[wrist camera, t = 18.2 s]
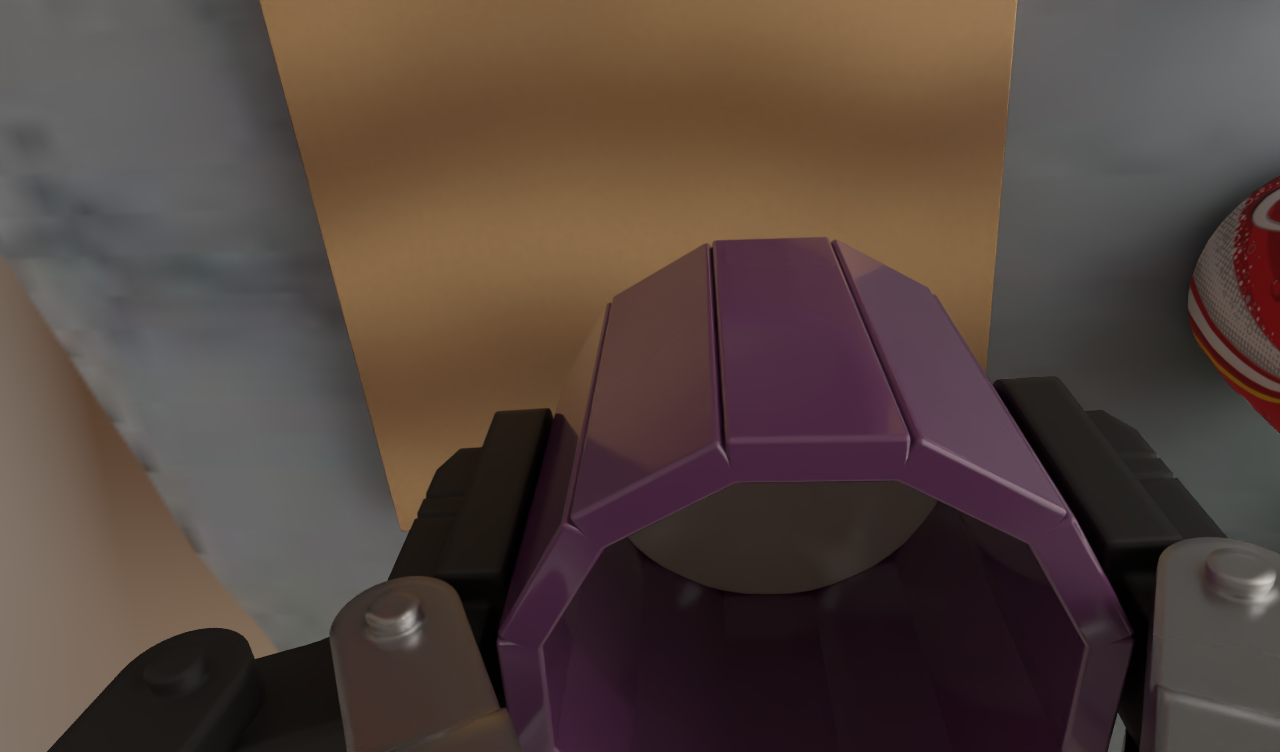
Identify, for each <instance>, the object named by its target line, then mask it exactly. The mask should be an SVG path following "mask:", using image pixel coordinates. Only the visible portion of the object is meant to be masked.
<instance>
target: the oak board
mask: <svg viewBox="0 0 1280 752" xmlns="http://www.w3.org/2000/svg"><path fill="white" fill-rule="evenodd" d="M259 1H260V5H261V9H262V12H263V16H264V20H265V24H266V27H267V31H268V35H269V39H270V42H271V46H272V50H273V54H274V57H275V61H276V65H277V69H278V72H279V76H280V80H281V83H282V87H283V91H284V95H285V98H286V102H287V106H288V110H289V113H290V117H291V121H292V125H293V128H294V132H295V136H296V140H297V143H298V147H299V151H300V155H301V158H302V162H303V166H304V170H305V173H306V177H307V181H308V185H309V188H310V192H311V196H312V200H313V203H314V207H315V211H316V215H317V218H318V222H319V226H320V230H321V233H322V237H323V241H324V245H325V248H326V252H327V256H328V260H329V263H330V267H331V271H332V275H333V278H334V282H335V286H336V290H337V293H338V297H339V301H340V304H341V308H342V312H343V316H344V319H345V323H346V327H347V331H348V334H349V338H350V342H351V346H352V349H353V353H354V357H355V361H356V364H357V368H358V372H359V376H360V379H361V383H362V387H363V391H364V394H365V398H366V402H367V406H368V409H369V413H370V417H371V421H372V424H373V428H374V432H375V436H376V439H377V443H378V447H379V451H380V454H381V458H382V462H383V466H384V469H385V473H386V477H387V481H388V484H389V488H390V492H391V496H392V499H393V503H394V507H395V511H396V514H397V518H398V522H399V525H400V529H401V531H410V529H411V526H412V524H413V522H414V519H417V513H418V510H419V508H420V506H421V504H422V501H423V499H426V492H427V490H428V488H429V486H430V483H431V481H432V479H433V476H434V474H435V472H436V470H437V469H438V468H439V467H440V466H441V465H443V464H444V463H445V462H446V461H447V460H448V459H449V458H450V457H451V456H452V455H454V454H455V453H456V452H457V451H458V450H459V449H460V448H476V447H482V446H483V443H484V440H485V438H486V435H487V432H488V430H489V427H490V424H491V422H492V419H493V417H494V414H495V413H496V412H497V411H507V410H522V409H537V408H550V410H551V412H552V414H553V417H554V416H555V412H556V408H557V404H558V401H559V397H560V393H561V389H562V386H563V384H564V382H565V380H566V378H567V376H568V374H569V373H570V371H571V369H572V367H573V365H574V363H575V361H576V360H577V358H578V356H579V354H580V352H581V350H582V349H583V347H584V345H585V343H586V341H587V339H588V337H589V336H590V334H591V332H592V330H593V328H594V326H595V325H596V323H597V321H598V319H599V317H600V315H601V313H602V312H603V310H604V308H605V306H606V304H608V303H609V302H610V303H612V299H613V297H614V296H616V295H618V294H619V293H621V292H623V291H624V290H626V289H628V288H629V287H631V286H633V285H635V284H636V283H638V282H640V281H641V280H643V279H645V278H647V277H648V276H650V275H652V274H653V273H655V272H657V271H658V270H660V269H662V268H664V267H665V266H667V265H669V264H670V263H672V262H674V261H676V260H677V259H679V258H681V257H682V256H684V255H686V254H687V253H689V252H691V251H693V250H694V249H696V248H698V247H699V246H701V245H703V244H706V243H708V244H709V245H710V246H711V247H712V243H713V241H716V240H743V239H776V238H808V237H827V238H829V240H830V243H831V241H833V240H834V239H835V240H839V241H841V242H843V243H845V244H847V245H848V246H850V247H852V248H854V249H856V250H858V251H860V252H862V253H864V254H865V255H867V256H869V257H871V258H873V259H875V260H877V261H879V262H881V263H882V264H884V265H886V266H888V267H890V268H892V269H894V270H896V271H897V272H899V273H901V274H903V275H905V276H907V277H909V278H911V279H913V280H914V281H916V282H918V283H920V284H922V285H924V286H926V287H928V288H929V289H930V291H931V292H932V294H935V295H936V296H937V297H938V299H939V300H940V302H941V304H942V305H943V307H944V308H945V310H946V312H947V313H948V315H949V316H950V318H951V320H952V321H953V323H954V324H955V326H956V328H957V329H958V331H959V332H960V334H961V336H962V337H963V339H964V340H965V342H966V344H967V345H968V347H969V348H970V350H971V351H972V353H973V355H974V356H975V358H976V359H977V361H978V363H979V364H980V366H981V367H982V369H983V371H984V372H985V374H986V366H987V354H988V342H989V331H990V319H991V307H992V295H993V283H994V271H995V260H996V248H997V236H998V224H999V212H1000V200H1001V189H1002V177H1003V165H1004V153H1005V141H1006V129H1007V118H1008V106H1009V94H1010V82H1011V70H1012V59H1013V47H1014V35H1015V23H1016V11H1017V0H259Z"/></svg>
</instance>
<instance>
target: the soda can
mask: <svg viewBox="0 0 1280 752" xmlns="http://www.w3.org/2000/svg"><path fill="white" fill-rule="evenodd" d="M1188 314H1189V320H1190V325H1191V329H1192V331H1193V334H1194V336H1195V339H1196V341H1197V343H1198V345H1199V346H1200V348H1201V349H1202V351H1203V352H1204V353H1205V355H1206V356H1207V357H1208V359H1209V360H1210V361H1211V362H1212V364H1213V365H1214V366H1215V367H1216V369H1217V370H1218V371H1219V373H1220V374H1221V375H1222V376H1223V378H1224V379H1225V380H1226V381H1227V383H1228V384H1229V385H1230V386H1231V387H1232V388H1233V389H1234V390H1235V391H1236V392H1237V393H1238V394H1239V395H1240V396H1241V397H1242V398H1243V399H1244V400H1246V401H1247V402H1248V403H1249V404H1250V405H1251V406H1252V407H1253V408H1254V409H1255V410H1256V411H1257V412H1258V413H1259V414H1260V415H1261V416H1262V417H1263V418H1264V419H1265V420H1266V421H1267V422H1268V423H1270V424H1271V425H1272V426H1273V427H1274V428H1275V429H1276V430H1277V431H1278V432H1279V433H1280V176H1279V177H1277V178H1275V179H1273V180H1272V181H1270V182H1269V183H1267V184H1265V185H1264V186H1262V187H1261V188H1259V189H1258V190H1256V191H1255V192H1253V193H1252V194H1251V195H1250V196H1249V197H1247V198H1246V199H1245V200H1244V201H1243V202H1241V203H1240V204H1239V205H1238V206H1237V207H1236V208H1235V209H1234V210H1233V211H1232V212H1231V213H1230V214H1229V215H1228V216H1227V217H1226V218H1225V219H1224V220H1223V221H1222V222H1221V224H1220V225H1219V226H1218V228H1217V229H1216V231H1215V232H1214V233H1213V235H1212V236H1211V237H1210V239H1209V240H1208V242H1207V244H1206V245H1205V247H1204V249H1203V251H1202V253H1201V255H1200V256H1199V258H1198V261H1197V264H1196V266H1195V269H1194V272H1193V275H1192V278H1191V283H1190V288H1189V293H1188Z"/></svg>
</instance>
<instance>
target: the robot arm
mask: <svg viewBox="0 0 1280 752" xmlns="http://www.w3.org/2000/svg"><path fill="white" fill-rule="evenodd" d="M993 387H994V388H995V390H996V391H997V393H998V395H999V396H1000V398H1001V399H1002V401H1003V403H1004V404H1005V406H1006V407H1007V409H1008V411H1009V412H1010V414H1011V415H1012V417H1013V419H1014V420H1015V422H1016V423H1017V425H1018V426H1019V428H1020V430H1021V431H1022V433H1023V434H1024V436H1025V438H1026V439H1027V441H1028V442H1029V444H1030V446H1031V447H1032V449H1033V450H1034V452H1035V454H1036V455H1037V457H1038V458H1039V460H1040V462H1041V463H1042V465H1043V466H1044V468H1045V470H1046V471H1047V473H1048V474H1049V476H1050V478H1051V479H1052V481H1053V482H1054V484H1055V486H1056V487H1057V489H1058V490H1059V492H1060V494H1061V495H1062V497H1063V498H1064V500H1065V502H1066V503H1067V505H1068V506H1069V508H1070V509H1071V511H1072V513H1073V514H1074V516H1075V517H1076V519H1077V521H1078V523H1079V525H1080V527H1081V529H1082V531H1083V533H1084V534H1085V536H1086V538H1087V540H1088V542H1089V544H1090V546H1091V548H1092V550H1093V552H1094V553H1095V555H1096V557H1097V559H1098V561H1099V563H1100V565H1101V567H1102V569H1103V571H1104V573H1105V574H1106V576H1107V578H1108V580H1109V582H1110V584H1111V586H1112V588H1113V590H1114V592H1115V593H1116V595H1117V597H1118V599H1119V601H1120V603H1121V605H1122V607H1123V609H1124V611H1125V612H1126V614H1127V616H1128V618H1129V620H1130V622H1131V624H1132V626H1133V628H1134V634H1133V637H1134V639H1135V647H1134V650H1133V654H1132V658H1131V662H1130V666H1129V670H1128V674H1127V678H1126V682H1125V685H1124V689H1123V693H1122V697H1121V701H1120V705H1119V709H1118V713H1119V715H1120V717H1121V719H1122V721H1123V723H1124V725H1125V726H1126V730H1125V735H1124V740H1123V746H1122V751H1121V752H1280V554H1278V553H1276V552H1274V551H1271V550H1269V549H1266V548H1264V547H1261V546H1258V545H1255V544H1252V543H1248V542H1244V541H1239V540H1235V539H1228V538H1227V537H1226V535H1225V534H1224V533H1223V532H1222V531H1221V530H1220V528H1219V527H1218V526H1217V525H1216V524H1215V522H1214V521H1213V520H1212V519H1211V518H1210V517H1209V515H1208V514H1207V513H1206V512H1205V511H1204V509H1203V508H1202V507H1201V506H1200V505H1199V504H1198V502H1197V501H1196V500H1195V499H1194V498H1193V496H1192V495H1191V494H1190V493H1189V492H1188V490H1187V489H1186V488H1185V487H1184V486H1183V485H1182V483H1181V482H1180V481H1179V480H1178V479H1177V478H1173V473H1172V472H1171V470H1170V469H1169V468H1168V467H1167V466H1166V464H1165V463H1164V462H1163V461H1162V460H1161V459H1160V458H1157V457H1156V453H1155V451H1154V450H1153V449H1152V448H1151V447H1150V445H1149V444H1148V443H1147V442H1146V441H1145V440H1144V438H1143V437H1142V436H1141V435H1140V434H1139V432H1138V431H1137V430H1136V429H1134V428H1132V427H1131V426H1129V425H1127V424H1125V423H1124V422H1122V421H1120V420H1118V419H1117V418H1115V417H1113V416H1111V415H1110V414H1108V413H1106V412H1104V411H1103V410H1096V411H1084V410H1083V408H1082V407H1081V406H1080V405H1079V403H1078V402H1077V401H1076V399H1075V398H1074V397H1073V396H1072V394H1071V393H1070V392H1069V390H1068V389H1067V388H1066V386H1065V385H1064V384H1063V383H1062V381H1061V380H1060V379H1059V378H1058V377H1056V376H1047V377H1031V378H1016V379H1000V380H996V381H995V382H994V384H993ZM553 420H554V417H553V414H552V412H551V410H550V408H537V409H522V410H507V411H497V412H496V413H495V414H494V417H493V419H492V422H491V424H490V427H489V430H488V432H487V435H486V438H485V440H484V443H483V446H482V447H476V448H460V449H459V450H458V451H457V452H456V453H455V454H454V455H452V456H451V457H450V458H449V459H448V460H447V461H446V462H445V463H444V464H443V465H441V466H440V467H439V468H438V469H437V470H436V472H435V474H434V476H433V479H432V481H431V483H430V486H429V488H428V490H427V492H426V499H423V501H422V504H421V506H420V508H419V510H418V513H417V519H414V522H413V524H412V526H411V529H410V531H409V533H408V535H407V538H406V540H405V542H404V544H403V547H402V549H401V551H400V553H399V556H398V558H397V560H396V562H395V565H394V567H393V569H392V571H391V574H390V576H389V578H388V581H385V582H383V583H380V584H377V585H375V586H373V587H371V588H369V589H367V590H365V591H363V592H362V593H360V594H359V595H357V596H356V597H354V598H353V599H352V600H351V601H349V602H348V603H347V604H346V605H345V606H344V607H343V608H342V609H341V610H340V612H339V613H338V614H337V616H336V617H335V619H334V621H333V623H332V625H331V629H330V637H328V638H325V639H323V640H321V641H317V642H314V643H311V644H308V645H305V646H301V647H297V648H294V649H290V650H286V651H283V652H279V653H276V654H272V655H269V656H265V657H262V658H258V659H255V658H254V656H253V653H252V651H251V648H250V646H249V643H248V641H247V640H246V639H245V638H244V636H242V635H240V634H239V633H237V632H235V631H232V630H229V629H222V628H206V629H198V630H194V631H189V632H185V633H182V634H179V635H176V636H174V637H171V638H169V639H167V640H164V641H162V642H161V643H158V644H157V645H155V646H153V647H151V648H149V649H148V650H146V651H145V652H143V653H142V654H140V655H139V656H138V657H136V658H135V659H134V660H133V661H131V662H130V663H129V664H128V665H127V666H126V667H125V668H124V669H123V670H122V671H121V672H120V673H119V674H118V675H117V677H115V678H114V680H113V681H112V682H111V683H110V684H109V685H108V686H107V687H106V688H105V689H104V691H103V692H102V693H101V694H100V695H99V696H98V697H97V698H96V699H95V700H94V701H93V702H92V703H91V705H90V706H89V707H88V708H87V709H86V710H85V711H84V712H83V713H82V714H81V715H80V716H79V718H78V719H77V720H76V721H75V722H74V723H73V724H72V725H71V726H70V727H69V728H68V730H67V731H66V732H65V733H64V734H63V735H62V736H61V737H60V738H59V739H58V740H57V741H56V743H55V744H54V745H53V746H52V747H51V748H50V749H49V750H48V751H47V752H523V749H522V746H521V744H520V741H519V738H518V736H517V733H516V730H515V728H514V725H513V723H512V720H511V718H510V715H509V713H508V711H507V709H506V706H505V699H504V693H503V687H502V680H501V674H500V668H499V661H498V655H497V649H496V639H497V636H498V629H499V625H500V621H501V617H502V613H503V610H504V606H505V602H506V598H507V594H508V591H509V587H510V583H511V579H512V575H513V572H514V568H515V564H516V560H517V556H518V553H519V549H520V545H521V541H522V537H523V534H524V530H525V526H526V522H527V518H528V515H529V511H530V507H531V503H532V499H533V496H534V492H535V488H536V484H537V480H538V477H539V473H540V469H541V465H542V461H543V458H544V454H545V450H546V446H547V442H548V439H549V435H550V431H551V427H552V423H553Z"/></svg>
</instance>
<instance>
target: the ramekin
mask: <svg viewBox="0 0 1280 752" xmlns="http://www.w3.org/2000/svg"><path fill="white" fill-rule="evenodd" d="M1133 634H1134V628H1133V626H1132V624H1131V622H1130V620H1129V618H1128V616H1127V614H1126V612H1125V611H1124V609H1123V607H1122V605H1121V603H1120V601H1119V599H1118V597H1117V595H1116V593H1115V592H1114V590H1113V588H1112V586H1111V584H1110V582H1109V580H1108V578H1107V576H1106V574H1105V573H1104V571H1103V569H1102V567H1101V565H1100V563H1099V561H1098V559H1097V557H1096V555H1095V553H1094V552H1093V550H1092V548H1091V546H1090V544H1089V542H1088V540H1087V538H1086V536H1085V534H1084V533H1083V531H1082V529H1081V527H1080V525H1079V523H1078V521H1077V519H1076V517H1075V516H1074V514H1073V513H1072V511H1071V509H1070V508H1069V506H1068V505H1067V503H1066V502H1065V500H1064V498H1063V497H1062V495H1061V494H1060V492H1059V490H1058V489H1057V487H1056V486H1055V484H1054V482H1053V481H1052V479H1051V478H1050V476H1049V474H1048V473H1047V471H1046V470H1045V468H1044V466H1043V465H1042V463H1041V462H1040V460H1039V458H1038V457H1037V455H1036V454H1035V452H1034V450H1033V449H1032V447H1031V446H1030V444H1029V442H1028V441H1027V439H1026V438H1025V436H1024V434H1023V433H1022V431H1021V430H1020V428H1019V426H1018V425H1017V423H1016V422H1015V420H1014V419H1013V417H1012V415H1011V414H1010V412H1009V411H1008V409H1007V407H1006V406H1005V404H1004V403H1003V401H1002V399H1001V398H1000V396H999V395H998V393H997V391H996V390H995V388H994V387H993V385H992V383H991V382H990V380H989V379H988V377H987V375H986V374H985V372H984V371H983V369H982V367H981V366H980V364H979V363H978V361H977V359H976V358H975V356H974V355H973V353H972V351H971V350H970V348H969V347H968V345H967V344H966V342H965V340H964V339H963V337H962V336H961V334H960V332H959V331H958V329H957V328H956V326H955V324H954V323H953V321H952V320H951V318H950V316H949V315H948V313H947V312H946V310H945V308H944V307H943V305H942V304H941V302H940V300H939V299H938V297H937V296H936V295H935V294H932V292H931V291H930V289H929V288H928V287H926V286H924V285H922V284H920V283H918V282H916V281H914V280H913V279H911V278H909V277H907V276H905V275H903V274H901V273H899V272H897V271H896V270H894V269H892V268H890V267H888V266H886V265H884V264H882V263H881V262H879V261H877V260H875V259H873V258H871V257H869V256H867V255H865V254H864V253H862V252H860V251H858V250H856V249H854V248H852V247H850V246H848V245H847V244H845V243H843V242H841V241H839V240H835V239H834V240H833V241H831V243H830V240H829V238H827V237H808V238H776V239H743V240H716V241H713V243H712V247H711V246H710V245H709V244H708V243H706V244H703V245H701V246H699V247H698V248H696V249H694V250H693V251H691V252H689V253H687V254H686V255H684V256H682V257H681V258H679V259H677V260H676V261H674V262H672V263H670V264H669V265H667V266H665V267H664V268H662V269H660V270H658V271H657V272H655V273H653V274H652V275H650V276H648V277H647V278H645V279H643V280H641V281H640V282H638V283H636V284H635V285H633V286H631V287H629V288H628V289H626V290H624V291H623V292H621V293H619V294H618V295H616V296H614V297H613V299H612V303H610V302H609V303H608V304H606V306H605V308H604V310H603V312H602V313H601V315H600V317H599V319H598V321H597V323H596V325H595V326H594V328H593V330H592V332H591V334H590V336H589V337H588V339H587V341H586V343H585V345H584V347H583V349H582V350H581V352H580V354H579V356H578V358H577V360H576V361H575V363H574V365H573V367H572V369H571V371H570V373H569V374H568V376H567V378H566V380H565V382H564V384H563V386H562V389H561V393H560V397H559V401H558V404H557V408H556V412H555V416H554V420H553V423H552V427H551V431H550V435H549V439H548V442H547V446H546V450H545V454H544V458H543V461H542V465H541V469H540V473H539V477H538V480H537V484H536V488H535V492H534V496H533V499H532V503H531V507H530V511H529V515H528V518H527V522H526V526H525V530H524V534H523V537H522V541H521V545H520V549H519V553H518V556H517V560H516V564H515V568H514V572H513V575H512V579H511V583H510V587H509V591H508V594H507V598H506V602H505V606H504V610H503V613H502V617H501V621H500V625H499V629H498V636H497V639H496V649H497V655H498V661H499V668H500V674H501V680H502V687H503V693H504V699H505V706H506V709H507V711H508V713H509V715H510V718H511V720H512V723H513V725H514V728H515V730H516V733H517V736H518V738H519V741H520V744H521V746H522V749H523V752H1107V751H1108V748H1109V744H1110V740H1111V736H1112V732H1113V728H1114V724H1115V720H1116V716H1117V713H1118V709H1119V705H1120V701H1121V697H1122V693H1123V689H1124V685H1125V682H1126V678H1127V674H1128V670H1129V666H1130V662H1131V658H1132V654H1133V650H1134V647H1135V639H1134V637H1133Z"/></svg>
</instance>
